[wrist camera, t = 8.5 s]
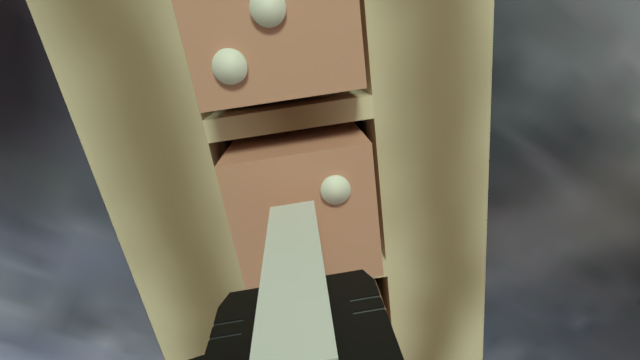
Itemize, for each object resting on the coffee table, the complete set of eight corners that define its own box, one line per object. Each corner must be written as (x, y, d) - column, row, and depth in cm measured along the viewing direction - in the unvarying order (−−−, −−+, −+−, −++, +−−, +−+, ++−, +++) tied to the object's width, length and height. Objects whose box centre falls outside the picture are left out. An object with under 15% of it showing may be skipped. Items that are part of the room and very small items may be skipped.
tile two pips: (258, 241, 18) (247, 300, 14) (235, 137, 16) (212, 168, 12) (363, 224, 18) (384, 278, 14) (352, 120, 17) (373, 144, 12)
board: (205, 380, 22) (192, 428, 19) (48, -76, 13) (-18, -110, 11) (457, 339, 22) (481, 381, 19) (458, -133, 14) (499, -182, 11)
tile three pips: (225, 97, 16) (199, 114, 11) (193, -46, 14) (145, -92, 9) (347, 78, 16) (368, 88, 11) (332, -66, 14) (350, -121, 10)
